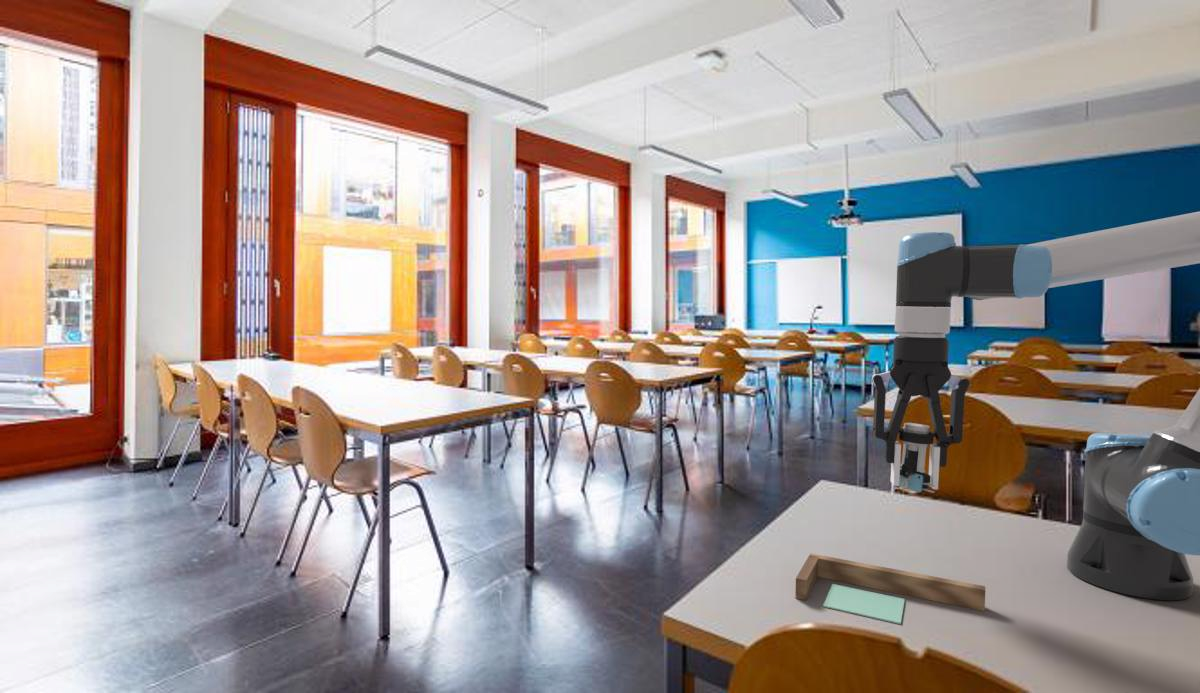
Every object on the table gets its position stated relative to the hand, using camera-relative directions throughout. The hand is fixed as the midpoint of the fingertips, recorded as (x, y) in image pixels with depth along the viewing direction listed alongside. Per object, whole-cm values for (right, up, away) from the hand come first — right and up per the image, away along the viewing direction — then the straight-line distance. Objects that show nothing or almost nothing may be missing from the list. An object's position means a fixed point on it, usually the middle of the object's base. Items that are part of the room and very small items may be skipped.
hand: (913, 484), depth 97 cm
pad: (-11, -16, -7) cm, 20 cm away
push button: (0, -1, 0) cm, 1 cm away
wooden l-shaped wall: (-7, -16, -7) cm, 18 cm away
